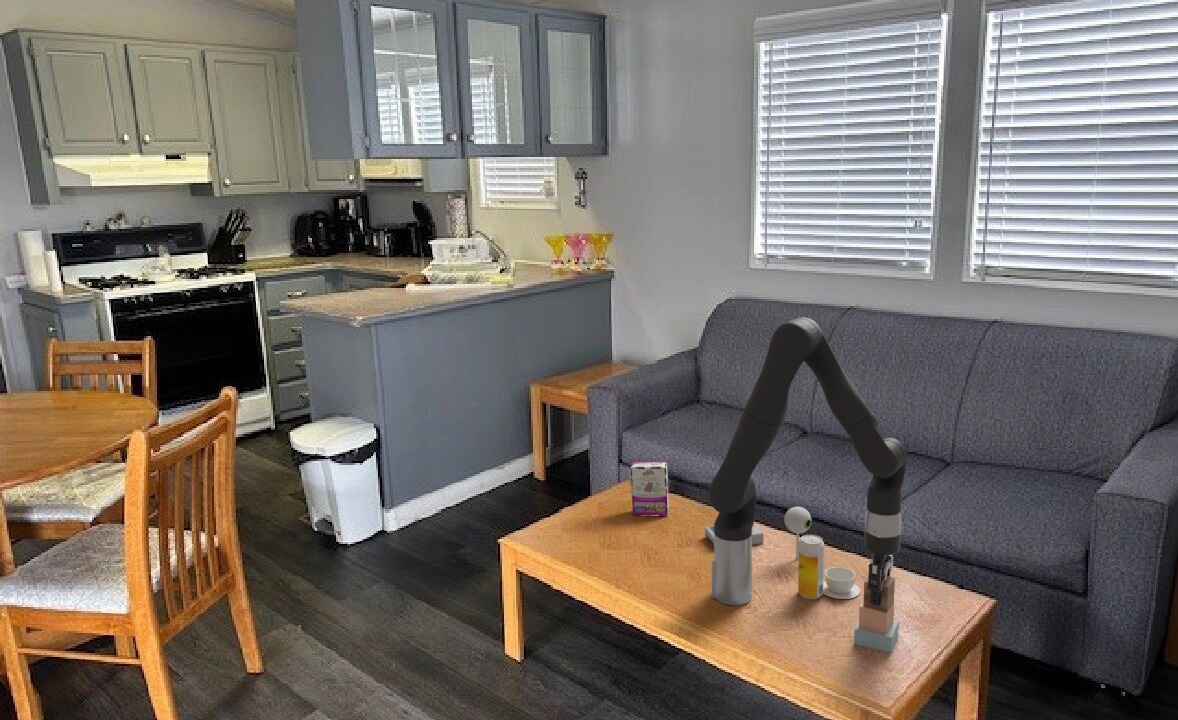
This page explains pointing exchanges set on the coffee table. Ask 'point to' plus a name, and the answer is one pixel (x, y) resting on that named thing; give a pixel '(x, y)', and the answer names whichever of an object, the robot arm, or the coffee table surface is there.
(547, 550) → the coffee table surface
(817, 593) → the beer can
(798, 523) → the lollipop
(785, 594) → the coffee table surface
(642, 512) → the candy bar box
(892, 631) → the tower base
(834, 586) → the teacup
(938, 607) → the coffee table surface
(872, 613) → the tower top
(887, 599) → the walnut block
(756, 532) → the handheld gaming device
